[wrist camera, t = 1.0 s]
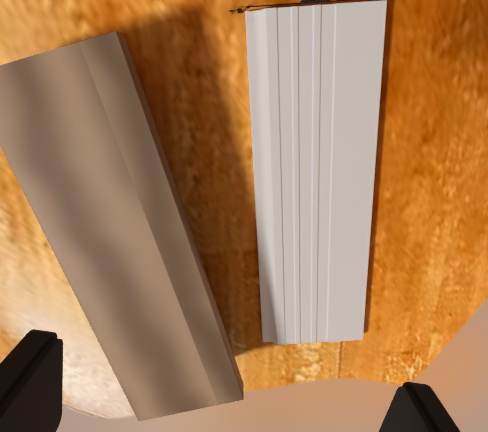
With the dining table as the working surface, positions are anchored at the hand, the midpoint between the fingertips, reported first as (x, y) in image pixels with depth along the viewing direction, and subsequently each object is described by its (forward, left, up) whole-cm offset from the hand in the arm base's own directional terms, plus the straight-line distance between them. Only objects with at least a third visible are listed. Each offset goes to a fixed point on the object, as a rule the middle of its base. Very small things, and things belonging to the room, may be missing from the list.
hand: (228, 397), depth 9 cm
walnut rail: (+9, +3, -23) cm, 25 cm away
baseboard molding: (-6, +3, -24) cm, 24 cm away
